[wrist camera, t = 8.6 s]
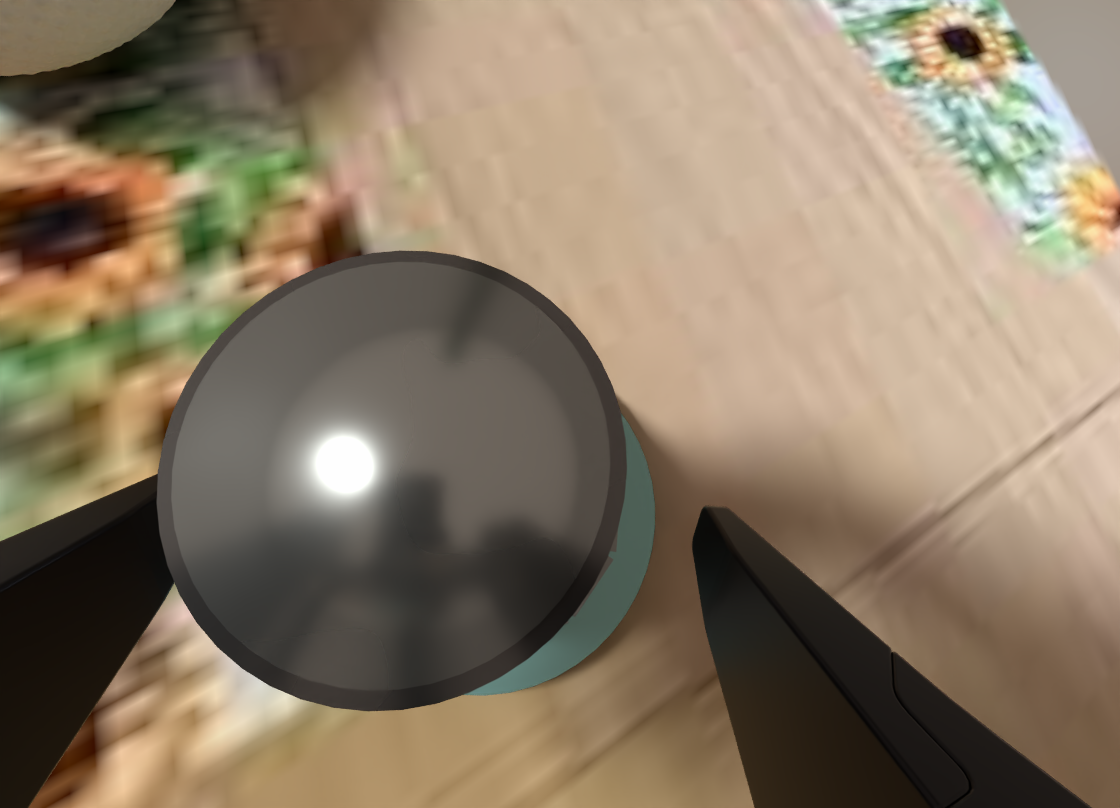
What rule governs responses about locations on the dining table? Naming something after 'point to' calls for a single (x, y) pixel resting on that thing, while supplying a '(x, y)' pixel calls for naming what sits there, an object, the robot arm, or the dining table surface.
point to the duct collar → (598, 586)
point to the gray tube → (391, 480)
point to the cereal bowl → (68, 30)
